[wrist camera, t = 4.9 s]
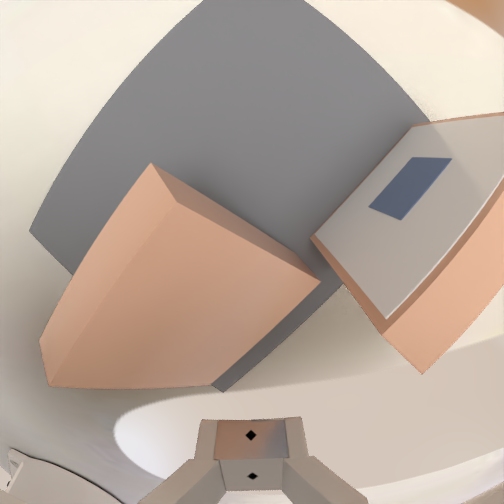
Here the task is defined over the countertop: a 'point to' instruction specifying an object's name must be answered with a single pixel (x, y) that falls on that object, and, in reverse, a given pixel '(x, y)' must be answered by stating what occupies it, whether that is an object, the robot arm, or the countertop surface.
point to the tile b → (425, 235)
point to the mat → (238, 135)
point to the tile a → (169, 293)
